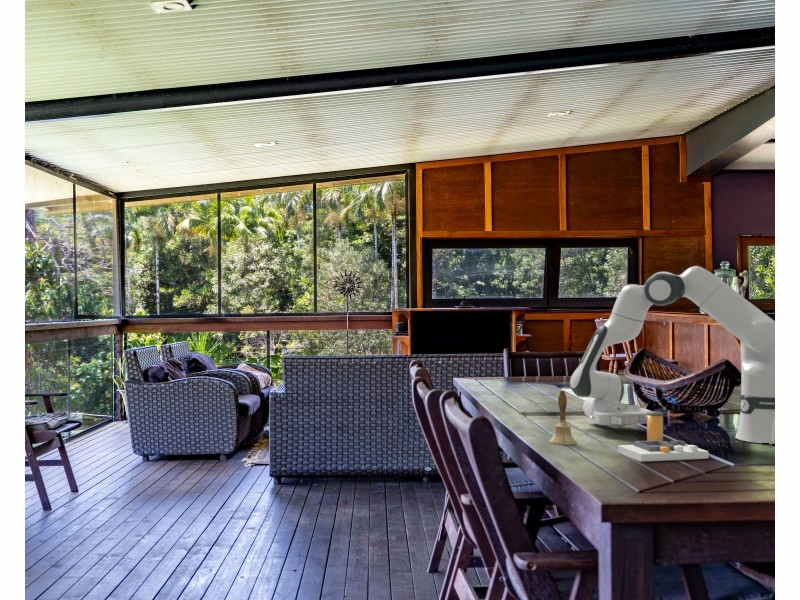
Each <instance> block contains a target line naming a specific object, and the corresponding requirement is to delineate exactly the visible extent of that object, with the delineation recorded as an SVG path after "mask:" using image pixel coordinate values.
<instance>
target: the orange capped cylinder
mask: <svg viewBox="0 0 800 600" xmlns="http://www.w3.org/2000/svg"><path fill="white" fill-rule="evenodd" d="M653 440H659V441H664V412H662V411H654V410H653V411H652V410H650V411H649V412H647V423H646V441H653Z"/></svg>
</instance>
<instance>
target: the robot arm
mask: <svg viewBox="0 0 800 600" xmlns="http://www.w3.org/2000/svg"><path fill="white" fill-rule="evenodd" d="M680 298H686V299H688V300H690V301H691V302H692V303H694V304H695V305H696V306H697V307H699V309H701V310H702V311H704V313H706V314H707V315H708V316H710V317H711V318H712V319H713V320H715V322H717V323H718V324H719V325H720V326H722V328H724V329H725V330H726V331H728V332H729V333H730V334H732V335H733V336H734V337H736V339H738V340H739V341H740V364H741V365H740V366H741V369H740V370H741V375H740V377H741V379H740V380H741V381H740V382H741V383H740V385H741V386H740V387H741V392H740V394H739V410H740V413H739V420H738V425H737V430H736V434H735V439H737V440H740V441H745V442H748V443H755V444H762V443H769V444H768V445H772V444H773V443H774V442H775V322H776V321H775V320H774V319H773V318H772V317H770V316H769V315H767V314H766V313H764V312H763V311H762V310H760V309H759V308H758V307H757V306H756V305H754V304H753V303H751V302H750V301H748V299H746V298H745V297H743V296H742V295H741V294H740V293H739V292H737V291H736V290H735V289H733V288H732V287H731V286H730V285H728V284H727V283H726V282H725V281H724V280H722V279H721V278H720V277H718V276H717V275H715V274H714V273H712V272H711V271H709V270H707V269H706V268H703V267H702V266H699V265H693V266H691V267H688V268H687V269H686V270H684V271H683V272H682V273H681V274H675V273H673V272H670V271H658V272H656V273H654V274H652V275H651V276H650V277H648V278H647V279H646V281H645V283H644V284H643V285H640V284H634V283H633V284H632V283H629V284H627V285H624V286H623V287H622V289H621V290H620V292H619V293H618V295H617V297H616V300H615V302H614V305H613V308H612V310H611V314H610V316H609V318H608V319H607V321H606V322H604V323H603V325H601V326H598V327H597V328H596V329H595V331H594V333H593V335H592V337H591V339H590V340H589V343H588V344H587V347H586V349H585V351H584V353H583V354H582V357H581V358H580V361H579V363H578V365H577V366H576V368H575V369H574V371H573V372H572V374H571V376H570V377H569V378H570V379H569V387H570V389H571V391H572V393H574V395H575V396H576V397H577V398H586V399H585V401H584V402H583V404H582V405H583V406H582V410H583V412H584V414H585V416H586V417H587V418H588V419H589V420H592V422H593V423H595V424H597V425H599V426H607V427H610V428H611V429H619V428H622V427H626V426H631V425H640V424H641V425H642V424H646V425H647V412H649V411H651V410H650V409H646V408H645V407H639V405H638V404H634V403H623V402H622V400H623V398H624V393H625V385H624V382H623V380H622V377H620V375H618V374H617V373H612V372H611V373H610V372H606V371H599V370H594V369H595V368H596V366H597V363H598V361H599V359H600V358H601V355H602V354H603V352H604V350H606V349H607V348H609V347H611V346H613V345H616V344H620V343H621V344H623V343H626V342H630V341H632V340H634V339H636V338H637V337H638V336H639V334H640V333H641V331H642V328H643V326H644V324H645V319H646V317H647V313H648V311H649V309H650V307H652V306H653V305H655V306H667V305H670V304H672V303H675V302H676V301H677V300H679V299H680Z"/></svg>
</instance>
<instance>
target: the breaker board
mask: <svg viewBox="0 0 800 600" xmlns="http://www.w3.org/2000/svg"><path fill="white" fill-rule="evenodd" d="M617 453H618V454H621V455H624V456H625V457H629V458H631V459H633V460H637V461H638V462H661V461H662V462H663V461H681V460H682V461H683V460H684V461H685V460H704V459H709V450H705V449H702V448H700V447H698V446H697V445H694V444H687V443H686V441H684V440H677V441H676V440H669V441H667V440H663V441H659V440H653V441H647V440H636V441H635V440H634V441H633V444H618V445H617Z"/></svg>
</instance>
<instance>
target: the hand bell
mask: <svg viewBox="0 0 800 600" xmlns="http://www.w3.org/2000/svg"><path fill="white" fill-rule="evenodd" d="M567 401H568V399H567V396H566V393H565V390H560V392H559V395H558V399H557V403H558V409H559V422H558V423H556V424H555V428H554V432H553V433H554V434H553V435H552V437H550V439H549V441H548V442H549V443H550V444H553V445H556V446H557V445H558V446H572V445H577V444H578V443H577V440H576V439H575V438H574V436H573V435H572V434H573V433H572V429H571V425H570V424H568V423H567V419H566V408H567V406H568V405H567V404H568V403H567Z"/></svg>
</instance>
